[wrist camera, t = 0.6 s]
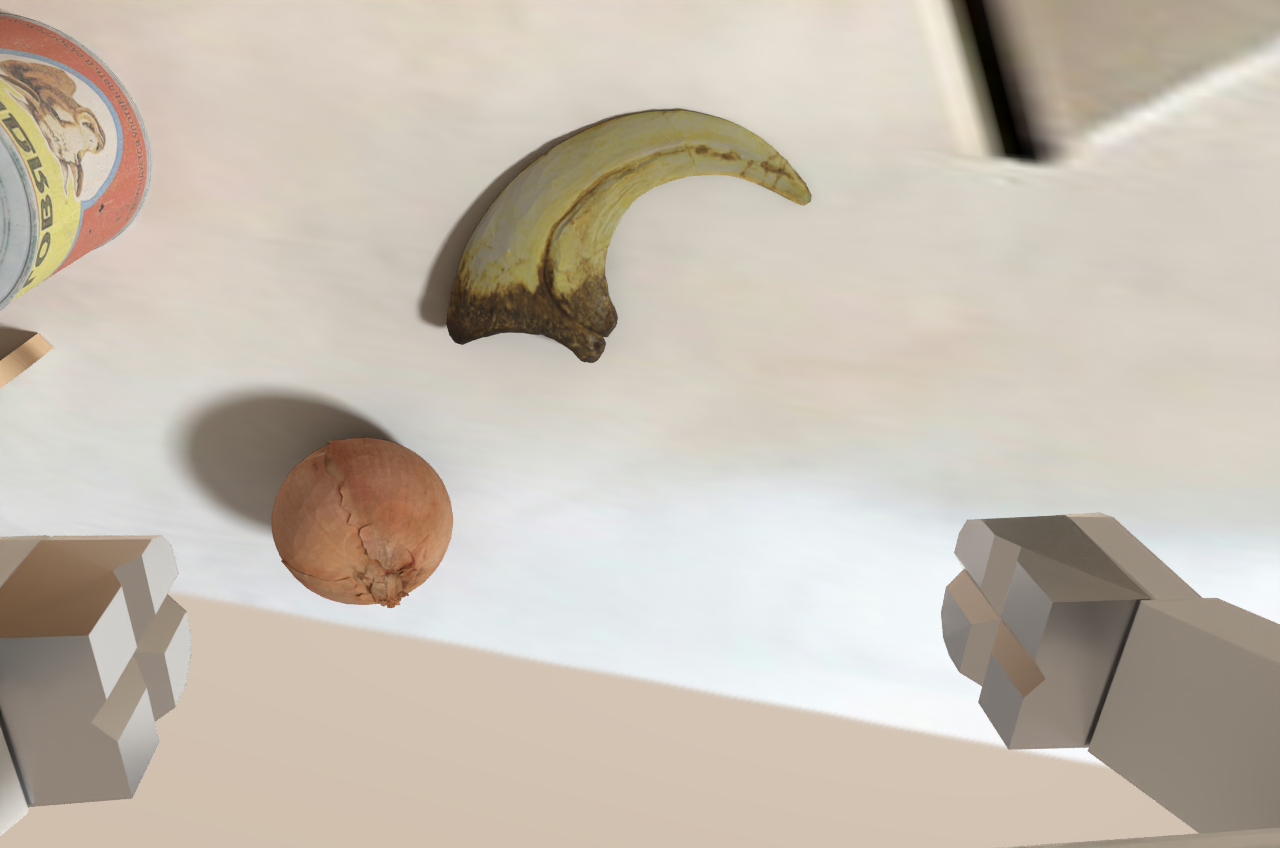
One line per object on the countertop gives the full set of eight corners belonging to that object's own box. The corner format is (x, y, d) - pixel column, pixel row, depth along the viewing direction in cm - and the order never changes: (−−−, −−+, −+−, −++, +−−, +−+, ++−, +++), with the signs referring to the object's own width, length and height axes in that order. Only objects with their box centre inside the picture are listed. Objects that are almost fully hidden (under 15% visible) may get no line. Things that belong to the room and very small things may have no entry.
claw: (524, 397, 53) (524, 421, 50) (402, 261, 49) (395, 278, 46) (804, 189, 50) (823, 201, 47) (700, 25, 46) (714, 26, 43)
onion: (439, 481, 58) (490, 603, 52) (291, 538, 56) (326, 674, 49) (401, 374, 51) (455, 501, 45) (230, 435, 49) (262, 577, 42)
